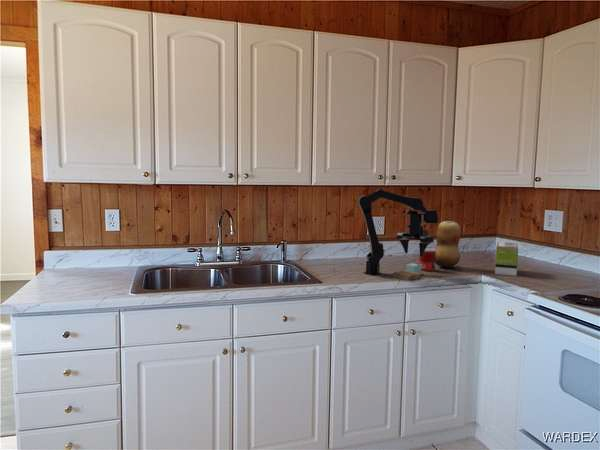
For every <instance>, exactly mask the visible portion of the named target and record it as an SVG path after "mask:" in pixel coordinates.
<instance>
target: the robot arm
mask: <svg viewBox="0 0 600 450" xmlns="http://www.w3.org/2000/svg"><path fill="white" fill-rule="evenodd" d="M380 198H381V199H385V200H388V201H393V202H396V203H398V204H402V205H404V206H406V207H408V208H409V209H407V211H405V214H406V215H409V219H408V220H409V223H408V225H407V228H408V232H405V231H403V232H402V231H401V232H397V234H396V239H397V240H398V241H399V242H400V244H401V246H402V248H403V251H404V253H405V254H408V253H409V242H410V241H411V240H415V241H416V240H418V241H420V242H419V243H418V247H419V255H420V256H423V254H424V251H425V249H426V248H428V247H427V246H429V245H431V244H432V243H434V241H435V239H434V236H432V235H429V233H430V231H429V230H427V229H425V228H424V225H422V222H423V223H424V224H426V225H427V224H430V225H431V224H433V225H434V224H435V225H436V224H438V221H439V217H438V210H436V209H429V210H428V209H427V208H426V207H425V206H424V201H423V200H422V199H421V198H418V197H411V196H404V195H400V194H396V193H393V192H389V191H386V190H383V189H380V188H378V189H376V190H374V191H373V192H371V193H368V194H366V195H361V196H359V198H358V199H357V203H358V206H359V208H360V210H361V212H362V214H363V217H364V221H365V225H366V229H367V233H368V238H369V242H370V243H369V248H370V249H369V253H367V254H366V255H365V257H366V260H367V261H365V271H363V273H364V274H366V275H370V276H375V275H376V276H377V275H382V272H380V269H381V267H380V266H381V264H380V261H381V259H383V258H384V255H385V252H386V251H385V248H384V244H383V243H382V242H381V241H379V239H378V235H377V230H376V227H375V223H374V218H373V214H372V203H374V202H375V201H377V200H379V199H380ZM411 209H412V210H411Z"/></svg>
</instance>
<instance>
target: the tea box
mask: <svg viewBox="0 0 600 450" xmlns="http://www.w3.org/2000/svg"><path fill="white" fill-rule="evenodd" d="M495 248H496V249H495V264H494V265H495V266H494V268H495V269H494V273H495V275H504V276H513V277H515V276H517V275H518V274H517V273H518V258H519V246H518V243H517V242H509V241H508V242H507V241H505V242H504V241H497V242H496V246H495Z"/></svg>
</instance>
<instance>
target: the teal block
mask: <svg viewBox="0 0 600 450" xmlns="http://www.w3.org/2000/svg"><path fill="white" fill-rule="evenodd" d="M405 270H406V271H410V272H415V273H419V274H422V273H421V272H422V271H421V265H419V264H417V263H413V262H412V263H407V264H406V269H405Z"/></svg>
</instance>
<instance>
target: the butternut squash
mask: <svg viewBox="0 0 600 450" xmlns="http://www.w3.org/2000/svg"><path fill="white" fill-rule="evenodd" d="M460 240H461V226H460V224H459V223H457V222H455V221H451V220H450V221H449V220H444V221H441V222H440V223H439V224H438V226H437V230H436V246H435V248H434V249H435V250H436V256H435V265H437V266H438V267H441V268H447V269H448V268H450V269H451V268H453V267H454V266H456V265H458V263H459V262H460V259H461V253H460V248H459V243H460Z"/></svg>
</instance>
